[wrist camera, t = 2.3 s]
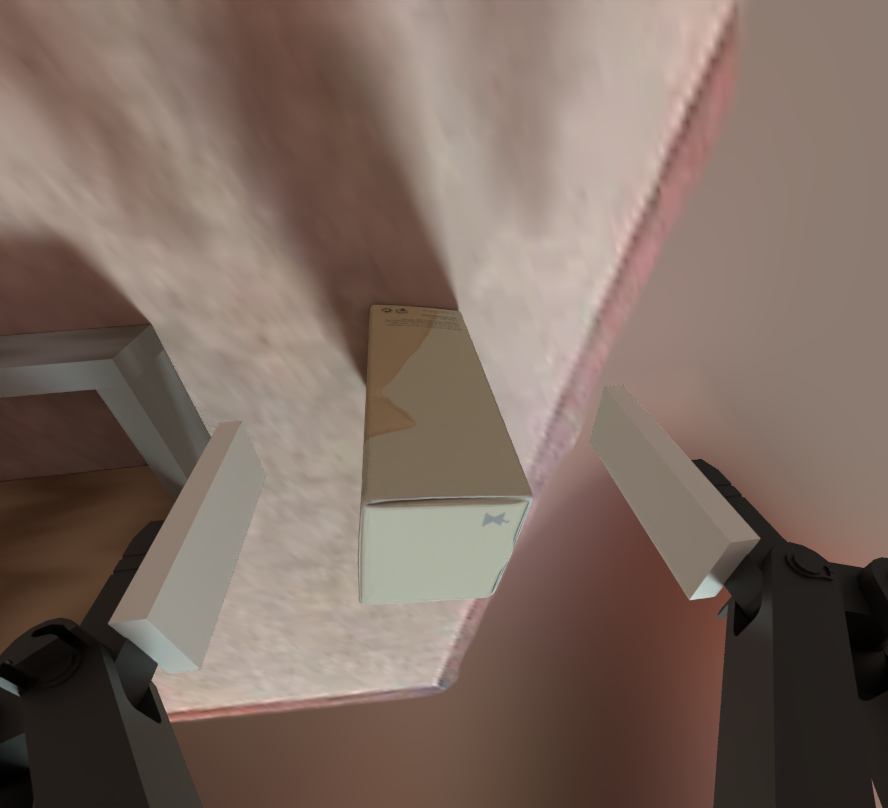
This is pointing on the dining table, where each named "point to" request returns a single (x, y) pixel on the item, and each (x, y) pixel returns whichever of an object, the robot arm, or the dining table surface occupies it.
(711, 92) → the dining table surface
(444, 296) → the dining table surface
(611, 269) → the dining table surface
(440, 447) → the box
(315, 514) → the dining table surface
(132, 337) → the cleat board
